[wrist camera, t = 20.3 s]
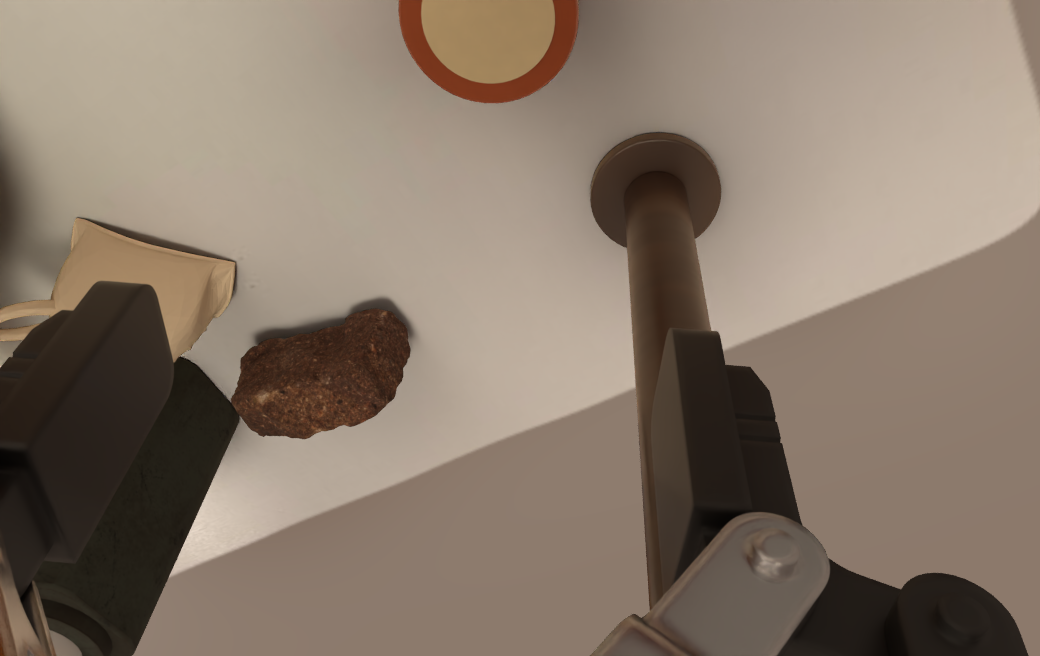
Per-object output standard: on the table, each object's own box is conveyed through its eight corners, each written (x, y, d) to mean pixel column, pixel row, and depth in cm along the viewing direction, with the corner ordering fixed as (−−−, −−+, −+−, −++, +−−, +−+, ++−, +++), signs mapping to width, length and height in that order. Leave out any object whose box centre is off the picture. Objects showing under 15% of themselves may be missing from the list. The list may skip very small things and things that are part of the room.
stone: (278, 382, 42) (245, 459, 38) (241, 336, 40) (203, 411, 36) (419, 337, 40) (401, 414, 36) (387, 286, 38) (364, 360, 34)
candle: (170, 450, 45) (-154, 1070, 26) (102, 382, 43) (-319, 1016, 23) (249, 423, 44) (-32, 1062, 24) (183, 350, 41) (-193, 1002, 21)
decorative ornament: (228, 332, 40) (186, 412, 36) (40, 277, 39) (-27, 354, 35) (240, 263, 38) (196, 341, 34) (40, 202, 36) (-31, 275, 32)
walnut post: (731, 137, 33) (1017, 1127, 11) (706, 249, 36) (891, 1197, 14) (597, 127, 33) (614, 1088, 11) (584, 240, 36) (576, 1167, 14)
